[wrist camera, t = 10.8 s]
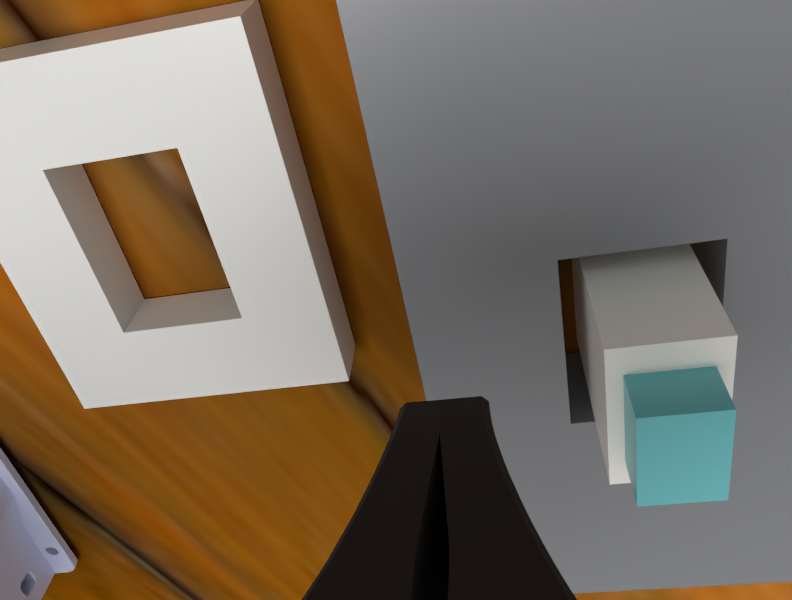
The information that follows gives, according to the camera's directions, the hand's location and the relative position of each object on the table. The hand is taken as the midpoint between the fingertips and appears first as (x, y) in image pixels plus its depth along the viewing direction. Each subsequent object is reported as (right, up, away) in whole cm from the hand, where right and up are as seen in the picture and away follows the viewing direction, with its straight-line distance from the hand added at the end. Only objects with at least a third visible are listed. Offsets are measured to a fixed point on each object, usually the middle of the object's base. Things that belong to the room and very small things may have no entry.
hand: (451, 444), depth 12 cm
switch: (+6, +3, +10) cm, 12 cm away
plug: (+6, +3, +10) cm, 12 cm away
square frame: (-8, +5, +10) cm, 13 cm away
